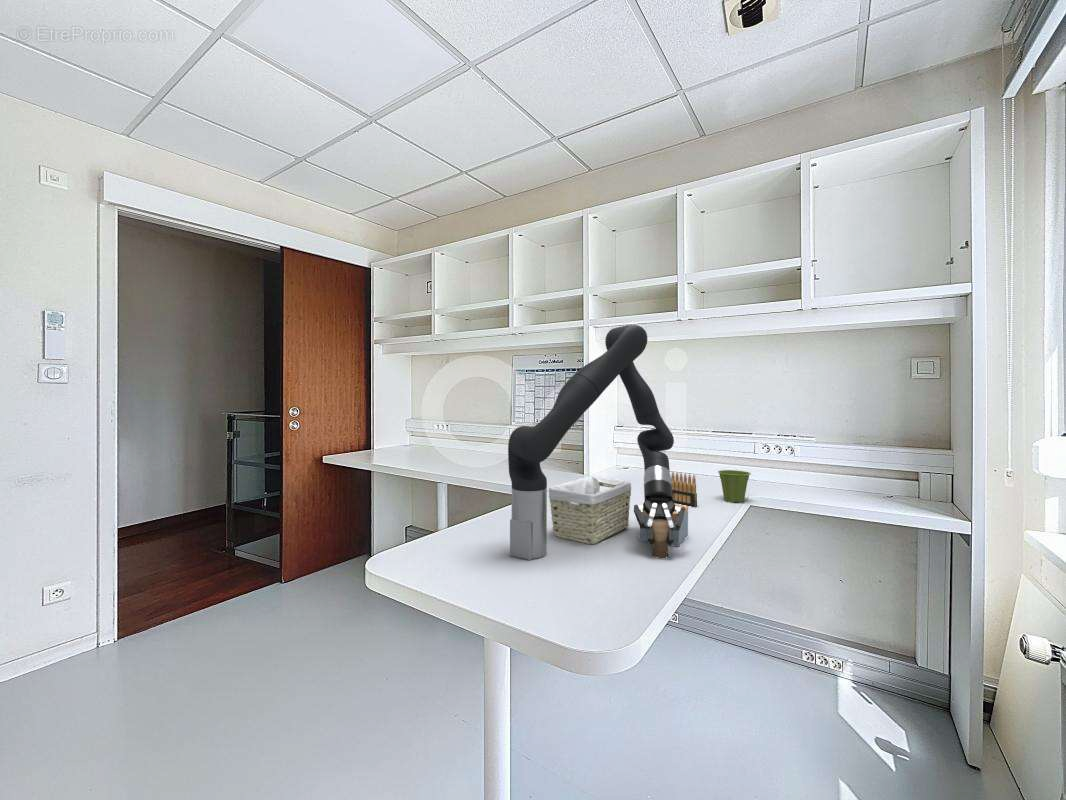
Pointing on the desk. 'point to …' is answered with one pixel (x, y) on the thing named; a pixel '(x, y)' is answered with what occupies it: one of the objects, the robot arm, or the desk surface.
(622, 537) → the desk surface
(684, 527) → the sleeve
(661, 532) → the peg
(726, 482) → the plant pot
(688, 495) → the ammunition clip
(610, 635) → the desk surface
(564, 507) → the storage basket
